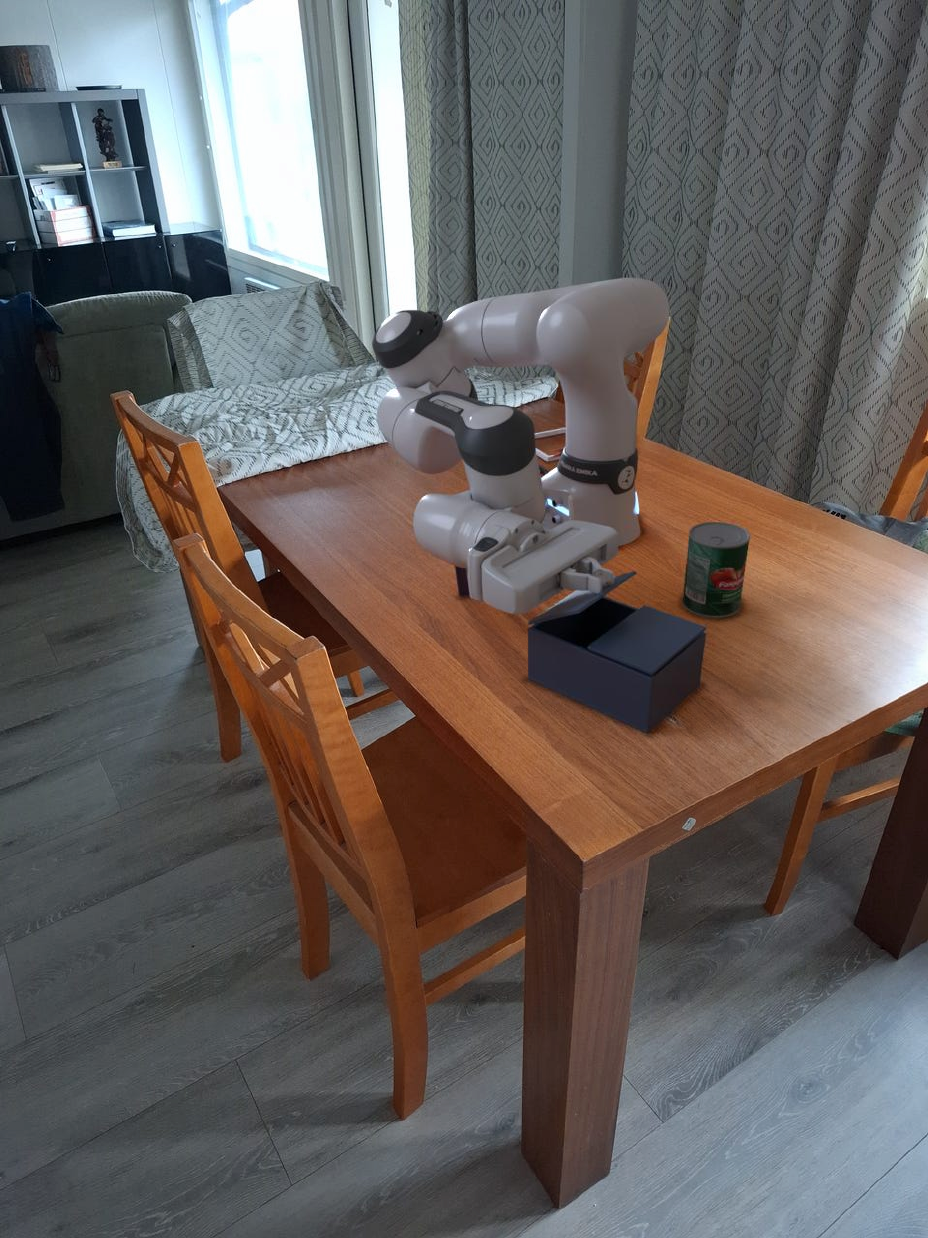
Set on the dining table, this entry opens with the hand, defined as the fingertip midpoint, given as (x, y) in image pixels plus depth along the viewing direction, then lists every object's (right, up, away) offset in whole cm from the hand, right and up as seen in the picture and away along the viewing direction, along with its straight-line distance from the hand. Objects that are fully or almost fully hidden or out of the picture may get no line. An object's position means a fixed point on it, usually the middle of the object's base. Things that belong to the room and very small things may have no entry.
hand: (607, 583), depth 95 cm
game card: (-13, +1, +29) cm, 32 cm away
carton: (+2, -12, +6) cm, 13 cm away
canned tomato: (+18, -2, +21) cm, 28 cm away
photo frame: (+6, +33, +82) cm, 88 cm away
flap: (-2, -2, +4) cm, 5 cm away
